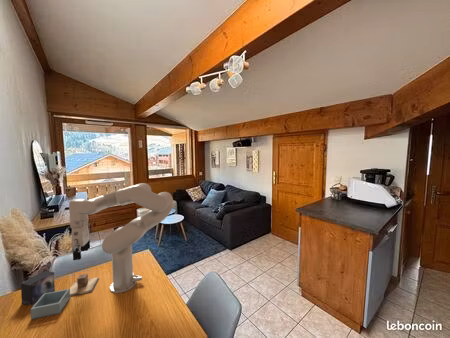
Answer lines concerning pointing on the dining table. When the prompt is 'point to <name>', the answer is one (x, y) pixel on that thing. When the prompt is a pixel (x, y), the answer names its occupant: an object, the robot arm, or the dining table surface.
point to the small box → (37, 287)
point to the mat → (88, 292)
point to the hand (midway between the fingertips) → (81, 254)
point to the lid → (83, 285)
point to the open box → (50, 304)
